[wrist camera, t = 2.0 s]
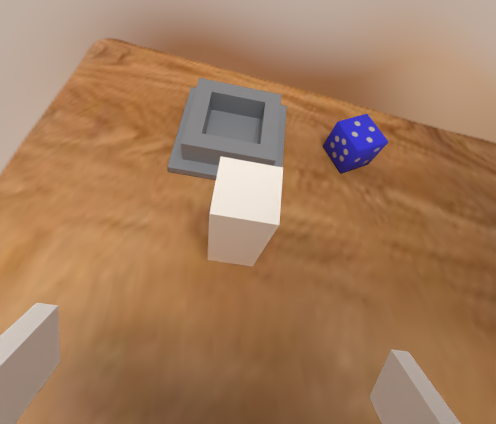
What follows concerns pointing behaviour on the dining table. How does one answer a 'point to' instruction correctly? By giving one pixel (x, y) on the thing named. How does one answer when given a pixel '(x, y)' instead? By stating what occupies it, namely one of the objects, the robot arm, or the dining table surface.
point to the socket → (228, 129)
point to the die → (354, 143)
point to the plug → (243, 210)
